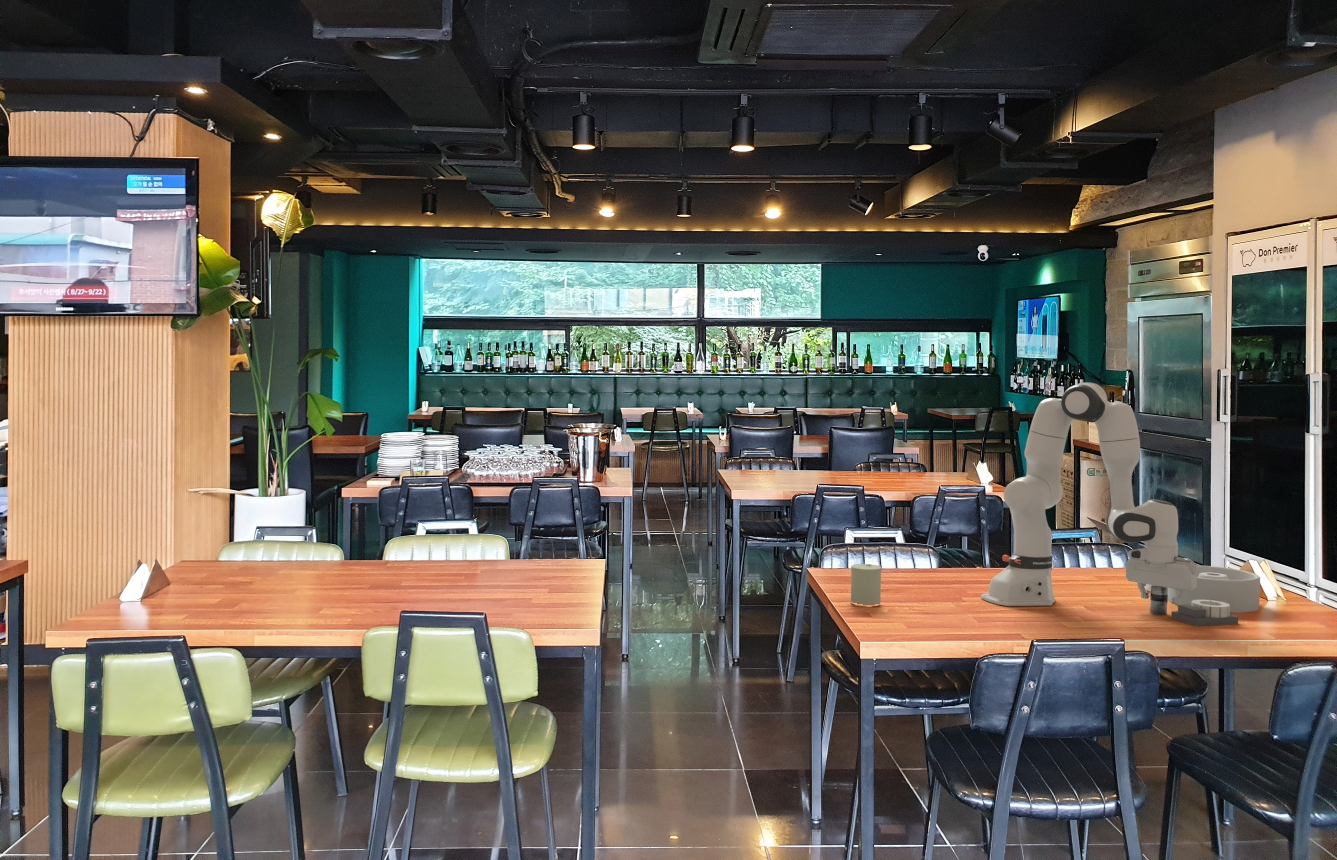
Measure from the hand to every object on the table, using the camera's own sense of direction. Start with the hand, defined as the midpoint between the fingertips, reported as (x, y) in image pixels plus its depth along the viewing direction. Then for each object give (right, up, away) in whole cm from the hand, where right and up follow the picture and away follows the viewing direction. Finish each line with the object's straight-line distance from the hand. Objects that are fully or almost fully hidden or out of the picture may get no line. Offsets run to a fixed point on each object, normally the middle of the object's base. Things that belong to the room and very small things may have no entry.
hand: (1160, 601), depth 295 cm
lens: (0, -4, +1) cm, 4 cm away
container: (+24, -4, +15) cm, 28 cm away
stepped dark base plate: (+9, -4, -8) cm, 13 cm away
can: (-85, -3, +10) cm, 86 cm away
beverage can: (+16, -3, +32) cm, 36 cm away
